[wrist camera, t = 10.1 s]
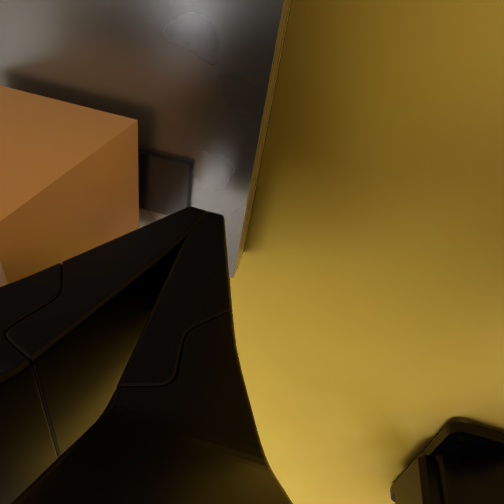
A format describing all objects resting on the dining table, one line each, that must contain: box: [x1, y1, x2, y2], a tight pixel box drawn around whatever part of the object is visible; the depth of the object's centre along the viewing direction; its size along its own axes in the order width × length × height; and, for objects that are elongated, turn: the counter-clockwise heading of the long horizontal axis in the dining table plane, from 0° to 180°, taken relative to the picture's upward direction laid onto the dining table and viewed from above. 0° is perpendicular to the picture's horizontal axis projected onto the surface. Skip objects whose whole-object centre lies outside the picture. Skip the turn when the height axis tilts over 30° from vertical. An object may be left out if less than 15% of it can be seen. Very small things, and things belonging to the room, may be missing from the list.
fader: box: [0, 86, 139, 287], centre depth 8 cm, size 4×4×4 cm
